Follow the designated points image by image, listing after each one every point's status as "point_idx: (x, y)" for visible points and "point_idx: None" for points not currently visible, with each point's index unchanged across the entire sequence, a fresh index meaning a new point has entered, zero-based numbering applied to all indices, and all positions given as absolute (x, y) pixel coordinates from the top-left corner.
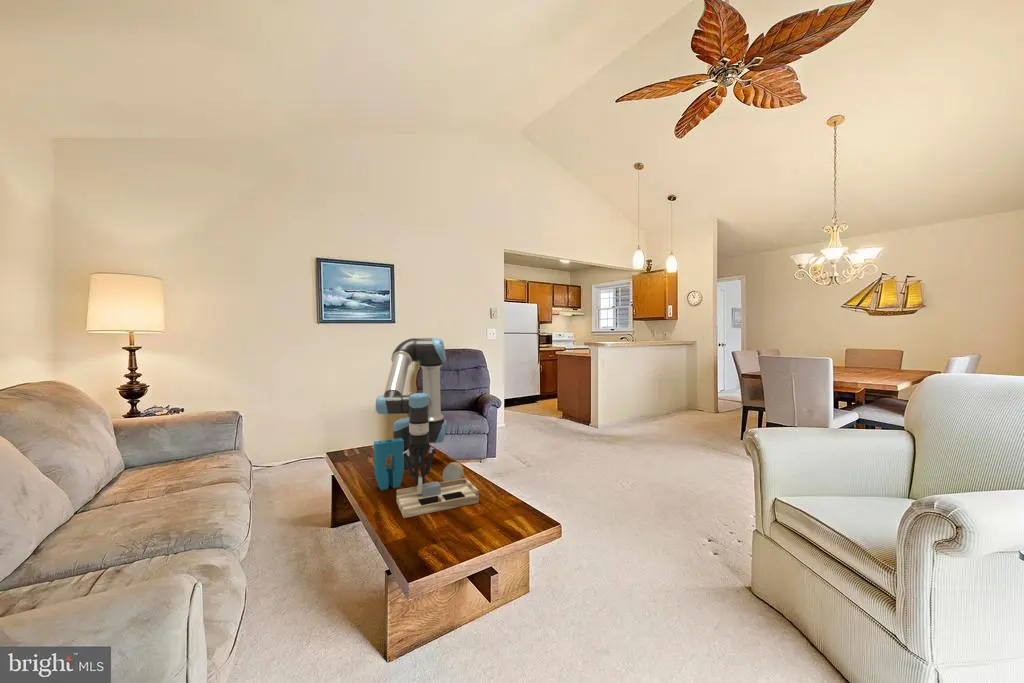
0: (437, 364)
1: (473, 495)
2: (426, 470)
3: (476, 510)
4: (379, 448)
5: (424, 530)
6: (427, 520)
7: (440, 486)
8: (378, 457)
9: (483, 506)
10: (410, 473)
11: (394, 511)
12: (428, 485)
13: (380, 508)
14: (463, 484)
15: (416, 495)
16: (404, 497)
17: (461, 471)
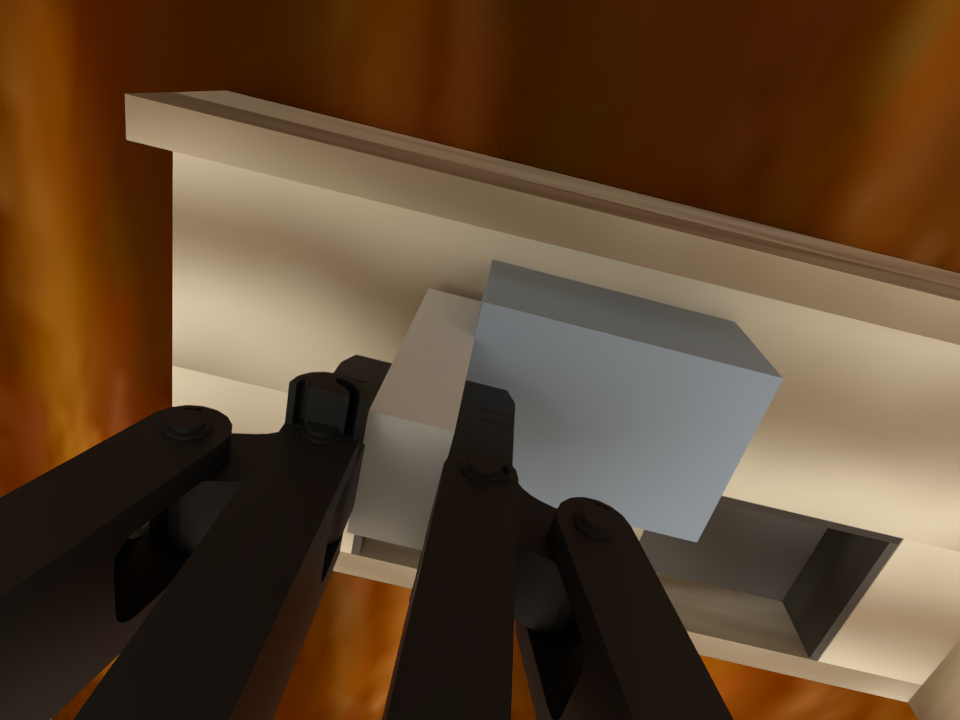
0: None
1: (893, 685)
2: (548, 608)
3: (758, 709)
4: None
5: (297, 695)
6: (368, 615)
7: (690, 531)
8: None
9: (855, 699)
10: (117, 573)
11: (161, 310)
12: (559, 435)
13: (24, 133)
14: None
15: (409, 308)
16: (253, 263)
17: None
